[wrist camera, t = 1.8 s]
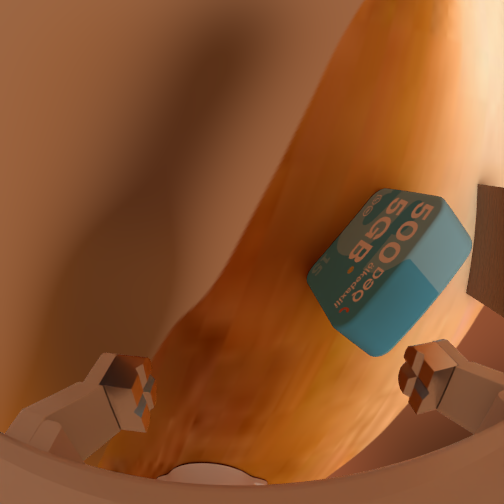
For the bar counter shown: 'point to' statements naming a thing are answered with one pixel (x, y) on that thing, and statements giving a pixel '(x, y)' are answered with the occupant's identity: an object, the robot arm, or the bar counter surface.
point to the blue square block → (389, 267)
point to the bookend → (488, 250)
